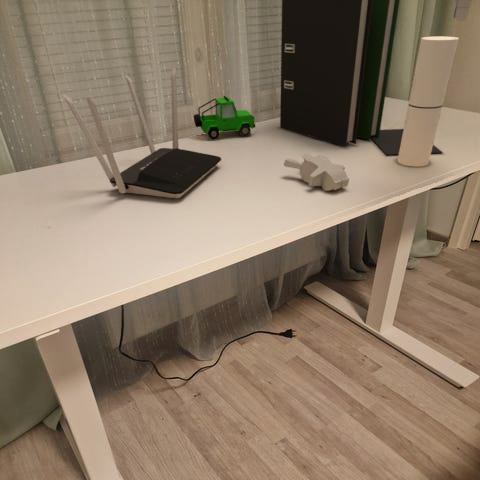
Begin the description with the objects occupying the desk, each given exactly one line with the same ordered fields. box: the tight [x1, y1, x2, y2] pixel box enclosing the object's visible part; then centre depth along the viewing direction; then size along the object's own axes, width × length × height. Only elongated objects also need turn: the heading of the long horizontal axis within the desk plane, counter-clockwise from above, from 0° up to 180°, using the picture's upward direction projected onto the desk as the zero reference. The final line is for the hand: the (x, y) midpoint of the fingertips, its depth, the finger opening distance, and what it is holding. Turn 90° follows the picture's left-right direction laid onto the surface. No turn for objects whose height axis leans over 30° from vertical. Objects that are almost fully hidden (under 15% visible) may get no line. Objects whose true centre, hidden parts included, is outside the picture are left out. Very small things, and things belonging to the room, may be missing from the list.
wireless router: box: [62, 67, 222, 199], centre depth 93 cm, size 34×23×20 cm
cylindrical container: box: [397, 35, 460, 168], centre depth 95 cm, size 7×7×25 cm
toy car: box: [193, 95, 256, 141], centre depth 123 cm, size 8×17×10 cm, turn 104°
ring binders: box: [279, 0, 400, 147], centre depth 114 cm, size 27×15×32 cm, turn 34°
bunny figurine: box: [283, 153, 350, 192], centre depth 93 cm, size 10×5×15 cm
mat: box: [370, 128, 443, 157], centre depth 115 cm, size 14×22×1 cm, turn 1°
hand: (458, 20), depth 72 cm, fingers closed
